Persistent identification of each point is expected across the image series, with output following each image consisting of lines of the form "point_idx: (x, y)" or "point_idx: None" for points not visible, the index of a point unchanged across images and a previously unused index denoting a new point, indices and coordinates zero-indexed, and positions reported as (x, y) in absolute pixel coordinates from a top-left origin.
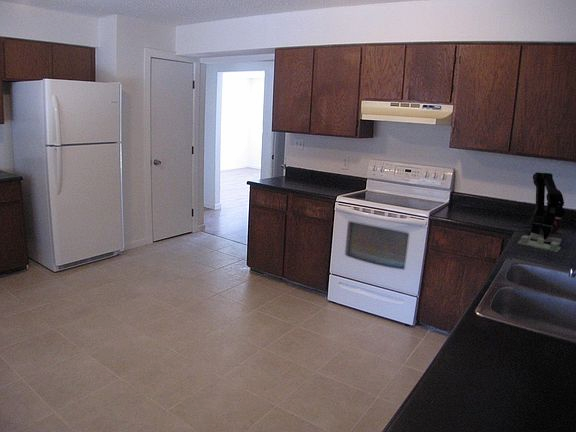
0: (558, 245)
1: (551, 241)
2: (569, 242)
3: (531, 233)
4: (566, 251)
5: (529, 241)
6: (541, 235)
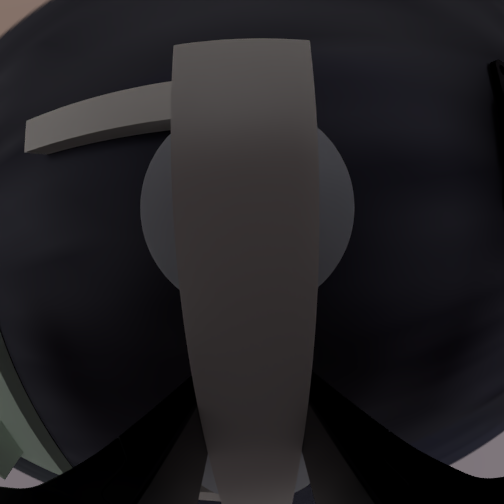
0: None
1: None
2: None
3: (179, 64)
4: None
5: None
6: (217, 356)
